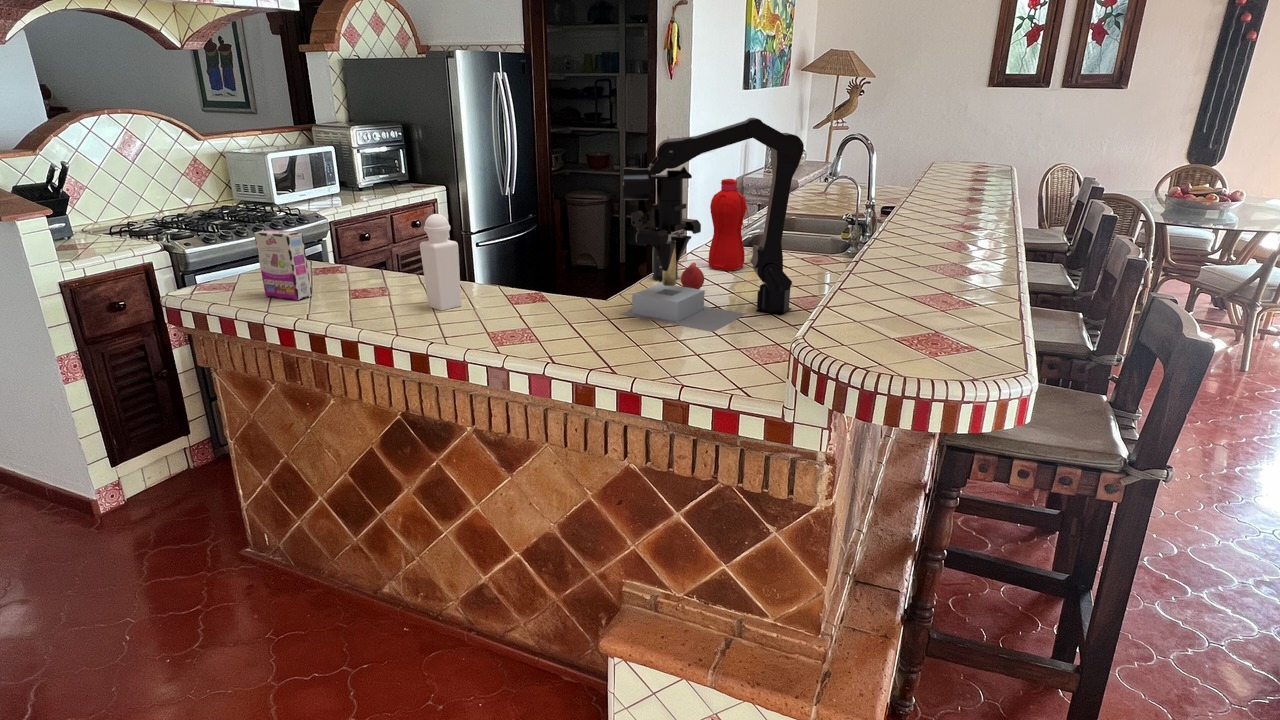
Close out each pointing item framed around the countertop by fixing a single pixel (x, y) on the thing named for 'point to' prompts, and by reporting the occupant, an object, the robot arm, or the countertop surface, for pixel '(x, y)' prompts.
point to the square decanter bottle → (440, 265)
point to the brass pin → (671, 270)
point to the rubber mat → (699, 319)
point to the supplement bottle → (659, 267)
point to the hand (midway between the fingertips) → (669, 269)
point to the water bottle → (727, 227)
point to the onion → (692, 277)
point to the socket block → (668, 302)
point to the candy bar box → (283, 264)
